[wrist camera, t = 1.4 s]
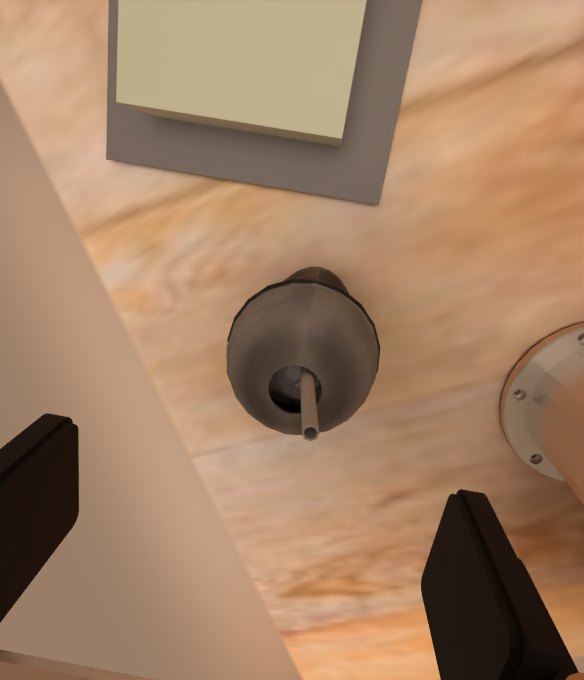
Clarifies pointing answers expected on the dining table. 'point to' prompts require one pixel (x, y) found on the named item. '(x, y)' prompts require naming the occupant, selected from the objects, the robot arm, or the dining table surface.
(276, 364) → the beverage cup
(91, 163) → the dining table surface
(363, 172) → the plinth
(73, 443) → the robot arm
